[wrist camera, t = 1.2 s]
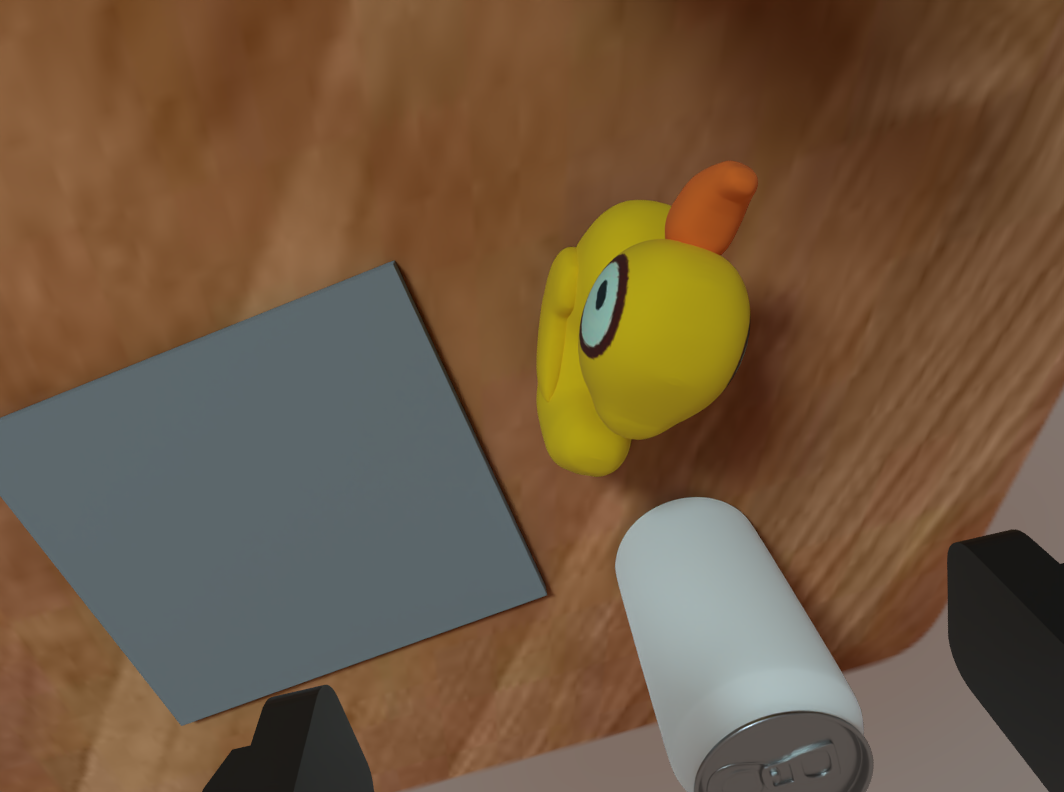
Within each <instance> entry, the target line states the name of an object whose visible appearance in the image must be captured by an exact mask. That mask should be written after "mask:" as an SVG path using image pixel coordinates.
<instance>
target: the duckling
mask: <svg viewBox="0 0 1064 792" xmlns="http://www.w3.org/2000/svg"><path fill="white" fill-rule="evenodd" d="M757 186H758V179H757V176H756V174H755V173H754V171H753V170H752V169H751V168H749V167H748V166H746V165H744V164H742V163H739V162H735V161H725V162H721V163H719V164H716V165H713V166H710V167H708V168H707V169H705V170H703V171H701V172H700V173H698V174H697V175H695V176H694V177H693V178H692V179H691V180H690V181H689V182H688V183H687V184H686V185H685V187H684V188H683V189H682V191H681V192H680V194H679V195H678V197H677V198H676V200H675V201H674V203H673V204H672V206H670V205H668V204H664V203H660V202H656V201H649V200H630V201H625V202H622V203H619V204H617V205H615V206H613V207H611V208H610V209H608V210H607V211H605V212H604V213H603V214H602V215H600V216H599V217H598V218H597V219H596V220H595V222H594V223H593V224H592V225H591V226H590V228H589V229H588V230H587V231H586V233H585V234H584V236H583V237H582V238H581V240H580V241H579V243H578V245H577V246H576V248H575V247H568V248H565V249H563V250H562V251H561V252H560V253H559V254H558V255H557V256H556V258H555V260H554V262H553V264H552V266H551V269H550V272H549V275H548V279H547V283H546V287H545V292H544V296H543V301H542V306H541V314H540V323H539V332H538V343H537V379H538V387H537V411H538V417H539V422H540V426H541V431H542V435H543V438H544V442H545V445H546V448H547V451H548V453H549V455H550V457H551V458H552V459H553V461H554V462H555V463H556V464H558V465H559V466H560V467H562V468H564V469H567V470H569V471H572V472H574V473H577V474H581V475H588V476H594V477H599V476H605V475H608V474H610V473H612V472H614V471H615V470H617V469H618V468H619V467H620V466H621V464H622V463H623V462H624V460H625V458H626V456H627V454H628V452H629V449H630V445H631V440H632V439H636V440H641V439H647V438H651V437H654V436H657V435H659V434H661V433H663V432H664V431H666V430H667V429H669V428H671V427H672V426H674V425H676V424H678V423H680V422H682V421H684V420H686V419H688V418H690V417H691V416H693V415H695V414H697V413H698V412H700V411H701V410H703V409H704V408H706V407H707V406H708V405H710V404H711V403H712V402H713V401H714V400H715V399H716V398H717V397H718V396H719V395H720V394H721V393H722V392H723V391H724V390H725V388H726V387H727V386H728V384H729V383H730V382H731V380H732V379H733V377H734V375H735V374H736V372H737V370H738V368H739V366H740V364H741V361H742V359H743V356H744V353H745V350H746V346H747V342H748V338H749V331H750V304H749V298H748V294H747V290H746V288H745V285H744V283H743V280H742V278H741V277H740V275H739V273H738V272H737V270H736V269H735V268H734V267H733V265H732V264H731V263H729V262H728V261H727V260H726V259H725V258H723V257H722V256H720V255H722V254H723V253H724V252H725V251H726V249H727V248H728V247H729V245H730V244H731V242H732V240H733V239H734V237H735V235H736V232H737V230H738V228H739V226H740V224H741V222H742V220H743V218H744V215H745V213H746V210H747V208H748V205H749V203H750V201H751V199H752V197H753V195H754V193H755V192H756V189H757Z"/></svg>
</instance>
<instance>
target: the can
mask: <svg viewBox="0 0 1064 792" xmlns="http://www.w3.org/2000/svg"><path fill="white" fill-rule="evenodd" d="M615 569H616V576H617V580H618V584H619V588H620V592H621V595H622V599H623V603H624V606H625V610H626V613H627V617H628V621H629V624H630V628H631V631H632V635H633V638H634V642H635V645H636V649H637V652H638V656H639V659H640V663H641V666H642V670H643V673H644V677H645V680H646V684H647V687H648V691H649V694H650V698H651V701H652V705H653V708H654V711H655V715H656V718H657V722H658V725H659V729H660V732H661V735H662V739H663V742H664V745H665V749H666V751H667V755H668V758H669V761H670V764H671V767H672V769H673V771H674V774H675V776H676V777H677V779H678V781H679V782H680V784H681V785H682V786H683V788H684V789H685V790H686V791H687V792H866V791H867V789H868V786H869V784H870V781H871V778H872V774H873V755H872V752H871V748H870V746H869V744H868V742H867V740H866V739H865V737H864V725H863V717H862V712H861V708H860V706H859V703H858V701H857V699H856V697H855V695H854V693H853V691H852V689H851V687H850V686H849V684H848V682H847V680H846V679H845V677H844V675H843V673H842V672H841V670H840V668H839V667H838V665H837V663H836V662H835V660H834V658H833V656H832V655H831V653H830V651H829V650H828V648H827V647H826V645H825V643H824V642H823V640H822V638H821V637H820V635H819V633H818V632H817V630H816V628H815V627H814V625H813V623H812V622H811V620H810V618H809V617H808V615H807V613H806V612H805V610H804V608H803V607H802V605H801V603H800V602H799V600H798V598H797V597H796V595H795V593H794V592H793V590H792V589H791V587H790V585H789V584H788V582H787V580H786V579H785V577H784V575H783V574H782V572H781V570H780V569H779V567H778V566H777V564H776V562H775V561H774V559H773V557H772V556H771V554H770V553H769V551H768V549H767V548H766V546H765V544H764V543H763V541H762V540H761V538H760V536H759V535H758V533H757V532H756V530H755V529H754V527H753V526H752V524H751V523H750V521H749V520H748V519H747V518H746V517H745V516H744V515H743V514H742V513H741V512H740V511H739V510H737V509H736V508H735V507H733V506H731V505H729V504H727V503H725V502H722V501H719V500H716V499H711V498H704V497H690V498H682V499H677V500H673V501H670V502H667V503H664V504H662V505H660V506H657V507H656V508H654V509H652V510H650V511H649V512H647V513H646V514H644V515H643V516H642V517H641V518H639V519H638V520H637V521H636V522H635V523H634V524H633V525H632V526H631V528H630V529H629V530H628V531H627V533H626V534H625V536H624V538H623V540H622V542H621V544H620V546H619V549H618V552H617V557H616V563H615Z"/></svg>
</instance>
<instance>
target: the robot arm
mask: <svg viewBox="0 0 1064 792" xmlns="http://www.w3.org/2000/svg"><path fill="white" fill-rule="evenodd" d="M947 570H948V637H949V644H950V648H951V652H952V655H953V658H954V661H955V663H956V666H957V668H958V670H959V672H960V674H961V676H962V678H963V679H964V681H965V682H966V684H967V686H968V687H969V689H970V690H971V691H972V693H973V694H974V695H975V696H976V698H977V699H978V700H979V702H980V703H981V704H982V706H983V707H984V708H985V709H986V710H987V712H988V713H989V714H990V716H991V717H992V718H993V720H994V721H995V722H996V724H997V725H998V726H999V728H1000V729H1001V730H1002V731H1003V733H1004V734H1005V735H1006V737H1007V738H1008V739H1009V741H1010V742H1011V743H1012V744H1013V746H1014V747H1015V748H1016V750H1017V751H1018V752H1019V753H1020V755H1021V756H1022V757H1023V758H1024V760H1025V761H1026V762H1027V764H1028V765H1029V766H1030V768H1031V769H1032V770H1033V772H1034V773H1035V774H1036V775H1037V776H1038V778H1039V779H1040V781H1041V782H1042V783H1043V785H1044V786H1045V787H1046V788H1047V790H1048V791H1049V792H1064V563H1063V564H1059V563H1058V562H1057V561H1056V560H1055V559H1054V558H1052V557H1051V556H1050V555H1049V554H1048V553H1047V552H1046V551H1045V550H1044V549H1042V548H1041V547H1040V546H1039V545H1038V544H1037V543H1036V542H1034V541H1033V540H1032V539H1031V538H1030V537H1029V536H1027V535H1026V534H1025V533H1023V532H1021V531H1019V530H1008V531H1004V532H999V533H995V534H991V535H986V536H982V537H978V538H973V539H969V540H964V541H960V542H956V543H953V544H952V545H951V546H950V548H949V550H948V557H947ZM202 792H374V788H373V781H372V777H371V772H370V769H369V766H368V763H367V761H366V759H365V757H364V754H363V752H362V750H361V748H360V745H359V743H358V741H357V739H356V737H355V734H354V732H353V730H352V728H351V726H350V723H349V721H348V719H347V717H346V715H345V712H344V710H343V708H342V706H341V704H340V701H339V699H338V697H337V695H336V693H335V691H334V690H333V689H332V688H331V687H330V686H329V685H323V686H318V687H314V688H310V689H305V690H301V691H296V692H292V693H288V694H283V695H279V696H275V697H271V698H269V699H268V700H267V701H266V703H265V704H264V707H263V709H262V712H261V715H260V718H259V721H258V724H257V727H256V730H255V733H254V736H253V740H252V743H251V746H246V747H242V748H238V749H233V750H232V751H231V752H230V754H229V755H228V756H227V758H226V759H225V760H224V762H223V763H222V764H221V766H220V767H219V768H218V770H217V771H216V773H215V774H214V775H213V777H212V778H211V779H210V781H209V782H208V783H207V785H206V786H205V787H204V789H203V791H202Z"/></svg>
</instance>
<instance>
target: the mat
mask: <svg viewBox="0 0 1064 792" xmlns="http://www.w3.org/2000/svg"><path fill="white" fill-rule="evenodd" d="M0 496H1V497H2V499H3V500H4V501H5V502H6V504H7V505H8V506H9V507H10V509H11V510H12V511H13V513H14V514H15V515H16V516H17V518H18V519H19V520H20V521H21V523H22V524H23V525H24V526H25V528H26V529H27V530H28V532H29V533H30V534H31V535H32V537H33V538H34V539H35V540H36V542H37V543H38V544H39V546H40V547H41V548H42V549H43V551H44V552H45V553H46V554H47V556H48V557H49V558H50V560H51V561H52V562H53V563H54V565H55V566H56V567H57V568H58V570H59V571H60V572H61V573H62V575H63V576H64V577H65V579H66V580H67V581H68V582H69V584H70V585H71V586H72V587H73V589H74V590H75V591H76V593H77V594H78V595H79V596H80V598H81V599H82V600H83V601H84V603H85V604H86V605H87V606H88V608H89V609H90V610H91V612H92V613H93V614H94V615H95V617H96V618H97V619H98V620H99V622H100V623H101V624H102V626H103V627H104V628H105V629H106V631H107V632H108V633H109V634H110V636H111V637H112V638H113V640H114V641H115V642H116V643H117V645H118V646H119V647H120V648H121V650H122V651H123V652H124V653H125V655H126V656H127V657H128V659H129V660H130V661H131V662H132V664H133V665H134V666H135V667H136V669H137V670H138V671H139V673H140V674H141V675H142V676H143V678H144V679H145V680H146V681H147V683H148V684H149V685H150V686H151V688H152V689H153V690H154V692H155V693H156V694H157V695H158V697H159V698H160V699H161V700H162V702H163V703H164V704H165V706H166V707H167V708H168V709H169V711H170V712H171V713H172V714H173V716H174V717H175V718H176V720H177V721H178V722H179V723H180V725H181V726H183V725H185V724H188V723H191V722H194V721H197V720H199V719H202V718H205V717H208V716H211V715H213V714H216V713H219V712H222V711H225V710H227V709H230V708H233V707H236V706H239V705H241V704H244V703H247V702H250V701H252V700H255V699H258V698H261V697H264V696H266V695H269V694H272V693H275V692H278V691H280V690H283V689H286V688H289V687H292V686H294V685H297V684H300V683H303V682H306V681H308V680H311V679H314V678H317V677H320V676H322V675H325V674H328V673H331V672H334V671H336V670H339V669H342V668H345V667H348V666H350V665H353V664H356V663H359V662H362V661H364V660H367V659H370V658H373V657H376V656H378V655H381V654H384V653H387V652H390V651H392V650H395V649H398V648H401V647H404V646H406V645H409V644H412V643H415V642H418V641H420V640H423V639H426V638H429V637H432V636H434V635H437V634H440V633H443V632H446V631H448V630H451V629H454V628H457V627H459V626H462V625H465V624H468V623H471V622H473V621H476V620H479V619H482V618H485V617H487V616H490V615H493V614H496V613H499V612H501V611H504V610H507V609H510V608H513V607H515V606H518V605H521V604H524V603H527V602H529V601H532V600H535V599H538V598H541V597H543V596H546V595H547V591H546V586H545V584H544V582H543V579H542V577H541V575H540V573H539V571H538V569H537V566H536V564H535V562H534V560H533V558H532V556H531V554H530V551H529V549H528V547H527V545H526V543H525V541H524V538H523V536H522V534H521V532H520V530H519V528H518V525H517V523H516V521H515V519H514V517H513V515H512V513H511V510H510V508H509V506H508V504H507V502H506V500H505V497H504V495H503V493H502V491H501V489H500V487H499V485H498V482H497V480H496V478H495V476H494V474H493V472H492V469H491V467H490V465H489V463H488V461H487V459H486V456H485V454H484V452H483V450H482V448H481V446H480V444H479V441H478V439H477V437H476V435H475V433H474V431H473V428H472V426H471V424H470V422H469V420H468V418H467V416H466V413H465V411H464V409H463V407H462V405H461V403H460V400H459V398H458V396H457V394H456V392H455V390H454V387H453V385H452V383H451V381H450V379H449V377H448V375H447V372H446V370H445V368H444V366H443V364H442V362H441V359H440V357H439V355H438V353H437V351H436V349H435V347H434V344H433V342H432V340H431V338H430V336H429V334H428V331H427V329H426V327H425V325H424V323H423V321H422V318H421V316H420V314H419V312H418V310H417V308H416V306H415V303H414V301H413V299H412V297H411V295H410V293H409V290H408V288H407V286H406V284H405V282H404V280H403V278H402V275H401V273H400V271H399V269H398V267H397V265H396V262H395V260H394V261H392V262H389V263H387V264H384V265H382V266H379V267H377V268H374V269H372V270H369V271H367V272H364V273H362V274H359V275H357V276H354V277H352V278H349V279H347V280H344V281H342V282H339V283H337V284H334V285H332V286H329V287H327V288H324V289H322V290H319V291H316V292H314V293H311V294H309V295H306V296H304V297H301V298H299V299H296V300H294V301H291V302H289V303H286V304H284V305H281V306H279V307H276V308H274V309H271V310H269V311H266V312H264V313H261V314H259V315H256V316H254V317H251V318H249V319H246V320H244V321H241V322H239V323H236V324H234V325H231V326H229V327H226V328H224V329H221V330H219V331H216V332H214V333H211V334H209V335H206V336H204V337H201V338H199V339H196V340H194V341H191V342H189V343H186V344H184V345H181V346H179V347H176V348H174V349H171V350H169V351H166V352H164V353H161V354H159V355H156V356H154V357H151V358H149V359H146V360H144V361H141V362H139V363H136V364H134V365H131V366H129V367H126V368H124V369H121V370H119V371H116V372H114V373H111V374H109V375H106V376H104V377H101V378H99V379H96V380H94V381H91V382H89V383H86V384H84V385H81V386H79V387H76V388H74V389H71V390H69V391H66V392H64V393H61V394H59V395H56V396H54V397H51V398H49V399H46V400H44V401H41V402H39V403H36V404H34V405H31V406H29V407H26V408H24V409H21V410H19V411H16V412H14V413H11V414H9V415H6V416H4V417H1V418H0Z"/></svg>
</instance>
